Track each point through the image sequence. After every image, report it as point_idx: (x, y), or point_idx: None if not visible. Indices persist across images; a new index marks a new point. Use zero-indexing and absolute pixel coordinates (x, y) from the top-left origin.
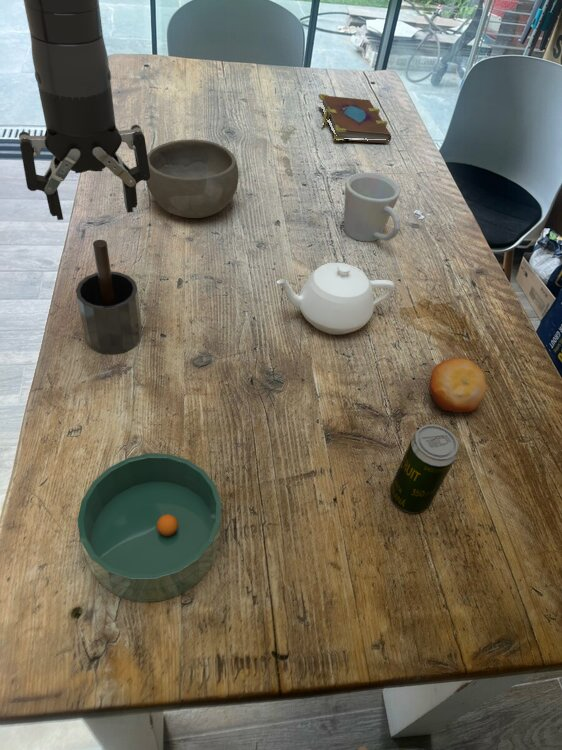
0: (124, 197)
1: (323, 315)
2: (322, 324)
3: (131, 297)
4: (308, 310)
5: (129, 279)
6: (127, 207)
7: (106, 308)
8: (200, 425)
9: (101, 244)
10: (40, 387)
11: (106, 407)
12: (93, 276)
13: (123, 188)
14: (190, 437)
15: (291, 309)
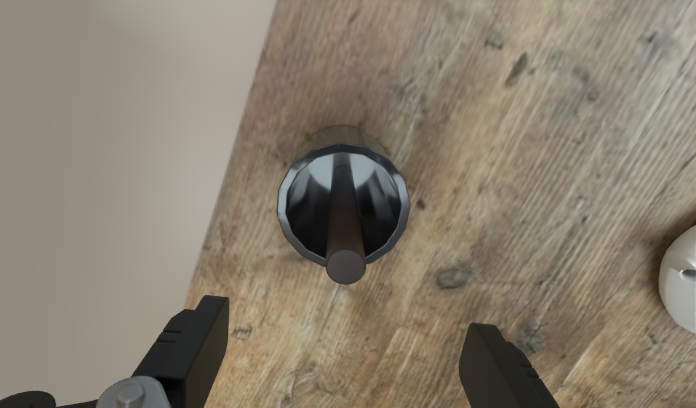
0: (482, 360)
1: (689, 321)
2: (671, 314)
3: (383, 251)
4: (677, 292)
5: (401, 193)
6: (466, 393)
7: (325, 265)
8: (396, 375)
9: (348, 274)
10: (206, 245)
11: (290, 310)
12: (328, 154)
13: (499, 392)
14: (376, 385)
15: (658, 221)
